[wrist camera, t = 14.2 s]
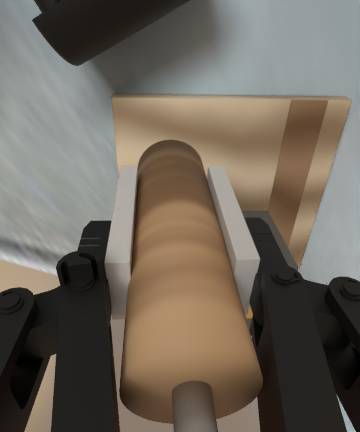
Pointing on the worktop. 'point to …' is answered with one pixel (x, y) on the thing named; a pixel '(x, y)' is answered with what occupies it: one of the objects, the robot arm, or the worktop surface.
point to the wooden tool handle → (183, 302)
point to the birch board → (246, 147)
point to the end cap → (95, 23)
